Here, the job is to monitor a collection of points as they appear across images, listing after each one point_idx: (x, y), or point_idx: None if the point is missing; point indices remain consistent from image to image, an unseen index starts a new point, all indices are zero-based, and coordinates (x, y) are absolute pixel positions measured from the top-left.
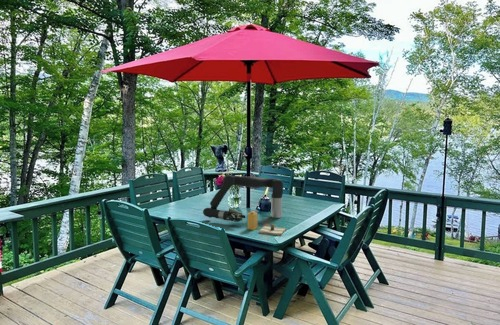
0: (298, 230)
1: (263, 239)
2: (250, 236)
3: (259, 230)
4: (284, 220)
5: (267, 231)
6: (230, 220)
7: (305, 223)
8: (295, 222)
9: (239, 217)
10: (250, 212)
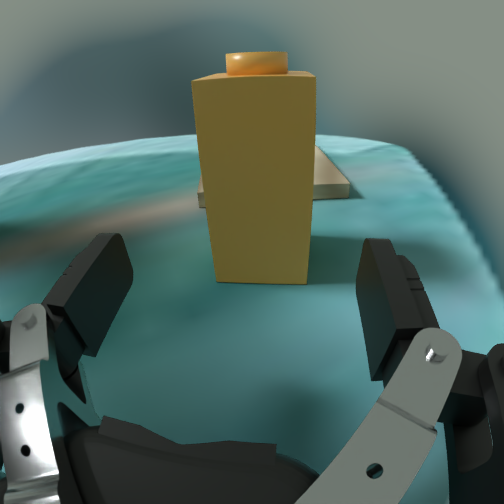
0: (193, 138)
1: (411, 170)
2: (439, 211)
3: (332, 183)
4: (30, 199)
5: (316, 161)
6: (485, 455)
7: (89, 153)
8: (71, 169)
9: (89, 392)
10: (224, 77)
